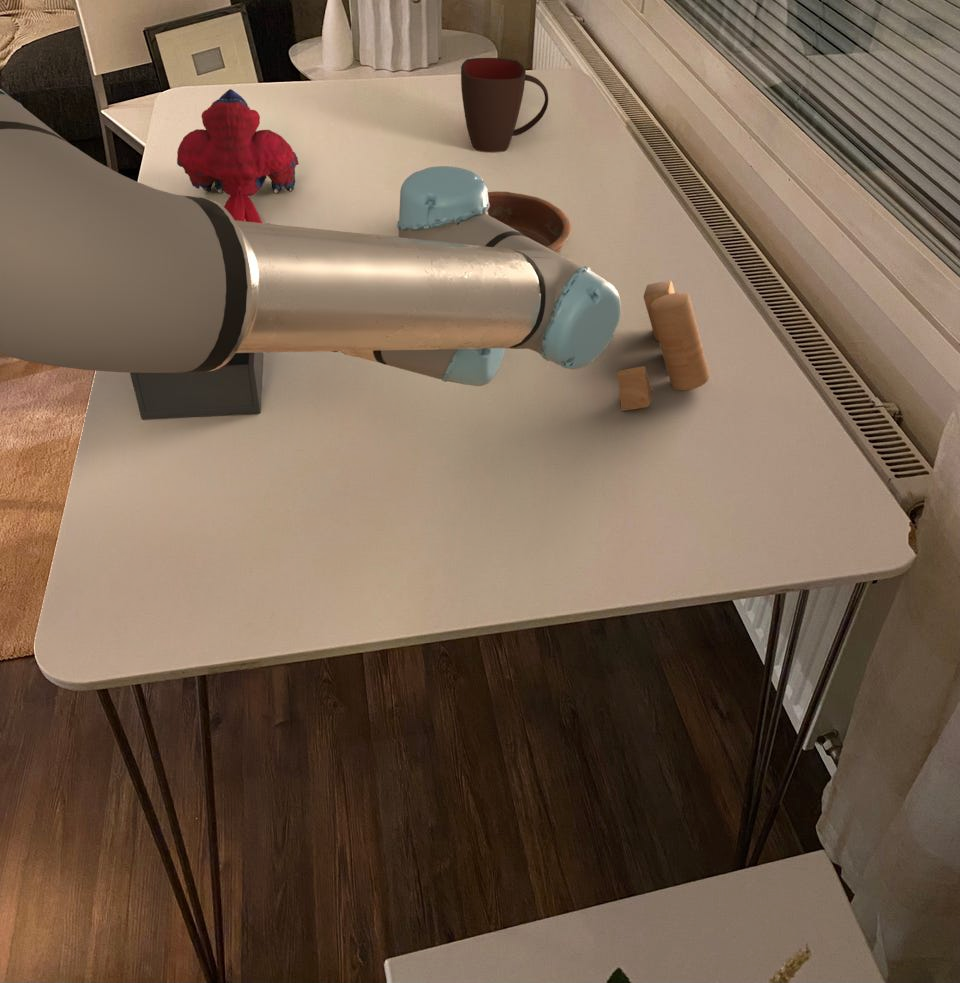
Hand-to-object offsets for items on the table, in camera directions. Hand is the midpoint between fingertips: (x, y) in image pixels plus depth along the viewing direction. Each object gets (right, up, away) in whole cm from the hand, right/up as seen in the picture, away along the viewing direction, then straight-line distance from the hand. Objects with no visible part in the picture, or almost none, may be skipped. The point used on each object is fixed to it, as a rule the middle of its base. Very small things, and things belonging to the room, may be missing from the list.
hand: (148, 267), depth 98 cm
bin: (+4, -11, +8) cm, 14 cm away
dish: (+37, +9, +32) cm, 49 cm away
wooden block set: (+55, -9, +13) cm, 57 cm away
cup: (+37, +33, +58) cm, 77 cm away
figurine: (+1, +16, +37) cm, 41 cm away
